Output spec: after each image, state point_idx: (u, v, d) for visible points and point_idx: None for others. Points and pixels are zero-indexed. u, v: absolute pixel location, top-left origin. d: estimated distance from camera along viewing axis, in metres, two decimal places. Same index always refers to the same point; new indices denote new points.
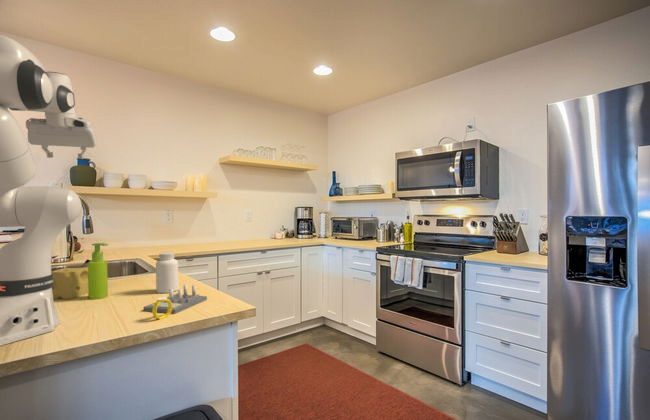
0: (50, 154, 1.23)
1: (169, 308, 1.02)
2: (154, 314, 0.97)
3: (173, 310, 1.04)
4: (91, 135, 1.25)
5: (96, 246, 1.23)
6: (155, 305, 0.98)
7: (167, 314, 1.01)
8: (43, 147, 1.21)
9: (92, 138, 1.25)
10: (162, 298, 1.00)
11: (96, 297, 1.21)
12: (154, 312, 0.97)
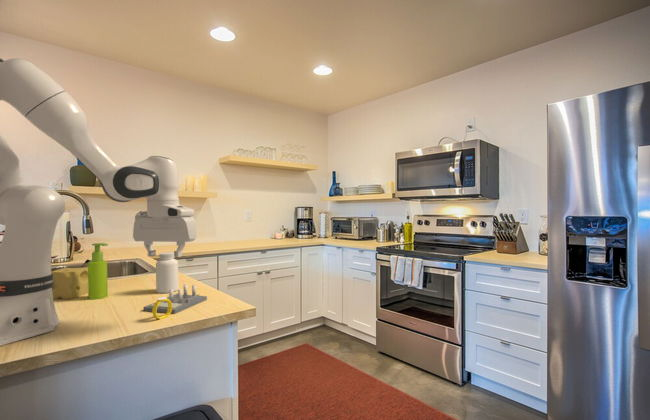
0: (150, 252, 1.02)
1: (169, 308, 1.02)
2: (154, 314, 0.97)
3: (173, 310, 1.04)
4: (185, 226, 0.97)
5: (96, 246, 1.23)
6: (155, 305, 0.98)
7: (167, 314, 1.01)
8: (145, 244, 1.02)
9: (186, 229, 0.97)
10: (162, 298, 1.00)
11: (96, 297, 1.21)
12: (154, 312, 0.97)
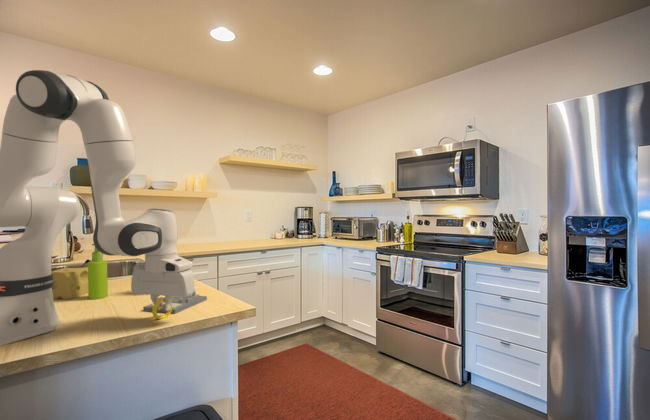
0: None
1: None
2: (154, 314, 0.97)
3: (173, 310, 1.04)
4: (182, 281, 0.95)
5: None
6: (155, 305, 0.98)
7: (167, 314, 1.01)
8: (152, 297, 1.00)
9: (183, 285, 0.95)
10: (162, 298, 1.00)
11: (96, 297, 1.21)
12: (154, 312, 0.97)
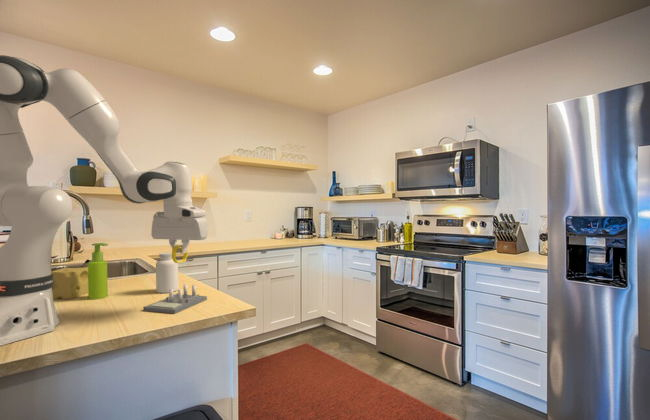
0: None
1: (185, 254, 1.14)
2: (173, 258, 1.09)
3: (173, 310, 1.04)
4: (197, 225, 1.06)
5: (96, 246, 1.23)
6: (174, 250, 1.09)
7: (183, 259, 1.13)
8: (170, 241, 1.11)
9: (198, 229, 1.06)
10: (179, 244, 1.11)
11: (96, 297, 1.21)
12: (173, 256, 1.09)
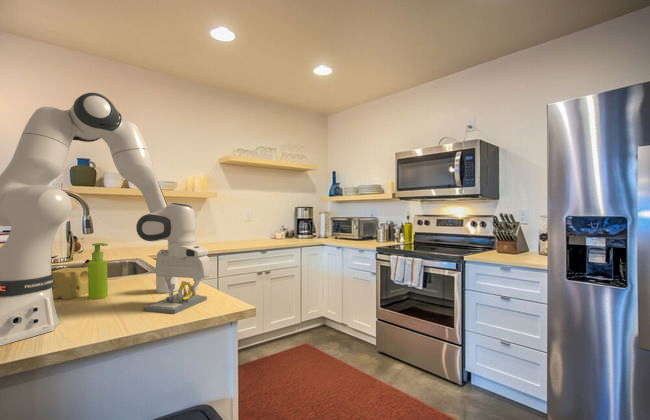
0: (170, 286, 1.16)
1: (189, 291, 1.18)
2: None
3: (173, 310, 1.04)
4: (201, 265, 1.11)
5: (96, 246, 1.23)
6: (180, 288, 1.13)
7: (188, 296, 1.17)
8: (166, 278, 1.16)
9: (201, 268, 1.11)
10: (186, 282, 1.15)
11: (96, 297, 1.21)
12: None
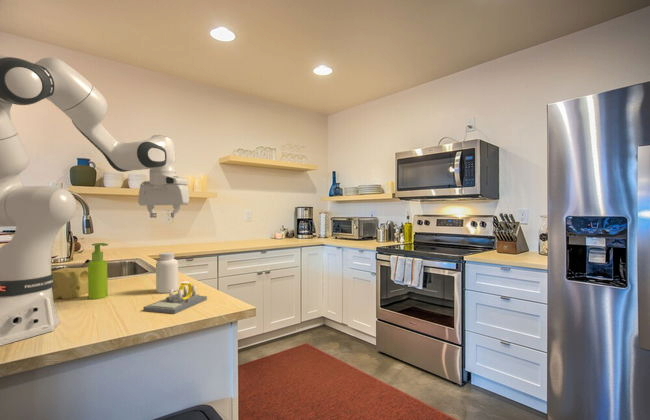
0: (152, 214, 1.25)
1: (189, 291, 1.18)
2: None
3: (173, 310, 1.04)
4: (179, 191, 1.20)
5: (96, 246, 1.23)
6: (180, 288, 1.13)
7: (188, 296, 1.17)
8: (148, 207, 1.25)
9: (180, 194, 1.20)
10: (185, 282, 1.15)
11: (96, 297, 1.21)
12: None
